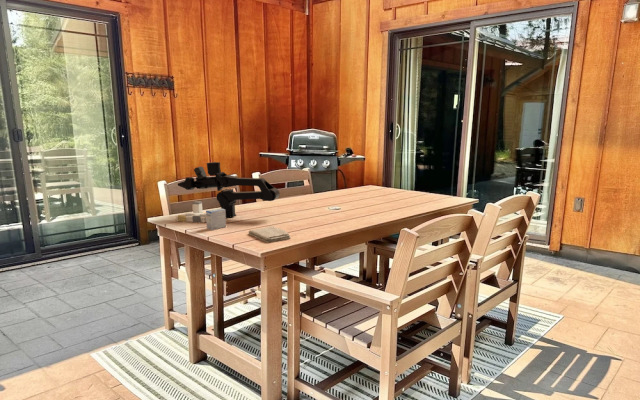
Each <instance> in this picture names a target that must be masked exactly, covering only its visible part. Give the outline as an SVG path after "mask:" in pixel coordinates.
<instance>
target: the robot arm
mask: <svg viewBox="0 0 640 400" xmlns="http://www.w3.org/2000/svg"><path fill="white" fill-rule="evenodd" d="M206 168H207V173H206V171H205V168H204V167H203V166H197V167H195V168H194V169H193V171H194V174H195V175H196V176H195V178H194V177H191V176H190V177H185V179H184V181H181V182H178V183H177V186H179V187H180V188H182V189H185V190H186V191H189V190H192V191H193V190H195V189H199V190H204V189H205V190H206V189H211V188H216V189H217V194H216V200H217V202H218V203H219V206H220V208H222V209H225V211H226V219H228V218H229V219H232V218H234V217H237V214H236V205H235V204H236V203H237V201H240V200H243V201H244V200H262V201H267V202H273V201H275V200H277V199H279V197H280V193H281V192H280V191H279V189H278V188H277V187H275V186H273V185H272V184H271V183H270V182H268V181H267V180H266V179H265V178H263V177H259V178H257V177H239V176H234V175H231V174H227V173H226V172H224V171H221V162H220V161H218V162H216V161H210V162H206ZM207 174H208V176H207ZM235 186H239V187H241V186H242V187H243V186H246V187H247V186H249V187H257V188H259V190H257V191H256V190H255V191H234V188H230V187H235ZM223 188H225V189H223Z"/></svg>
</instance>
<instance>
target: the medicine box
mask: <svg viewBox="0 0 640 400" xmlns="http://www.w3.org/2000/svg"><path fill="white" fill-rule="evenodd" d="M205 213H206V221H205V222H206V229H207V230H211V231H214V230H218V229H223V228H227V218H226V211H225V209H222V208H221V207H219V208H217V207H216V208H213V209H212V208H211V209H207V210H206V211H205Z"/></svg>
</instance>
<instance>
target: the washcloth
mask: <svg viewBox="0 0 640 400" xmlns="http://www.w3.org/2000/svg"><path fill="white" fill-rule="evenodd" d="M289 234H290V233H289V232H287V231H286V230H285V229H281V228H280V227H275V226H267V227H262V228H256V229H250V230H249V231H248V235H250V236H251V237H254V238H256V239H258V240H260V241H262V242H265V243H268V244H269V243H275V242H281V241H287V240H290V239H291V235H289Z"/></svg>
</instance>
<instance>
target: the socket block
mask: <svg viewBox="0 0 640 400" xmlns="http://www.w3.org/2000/svg"><path fill="white" fill-rule="evenodd" d="M175 221H177V222H180V223H182V222H183V223H184V222H192V223H205V222H206V212H205V213H204V212H203V213H193V212H184V213H181V214H178V215H177V216H175Z"/></svg>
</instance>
